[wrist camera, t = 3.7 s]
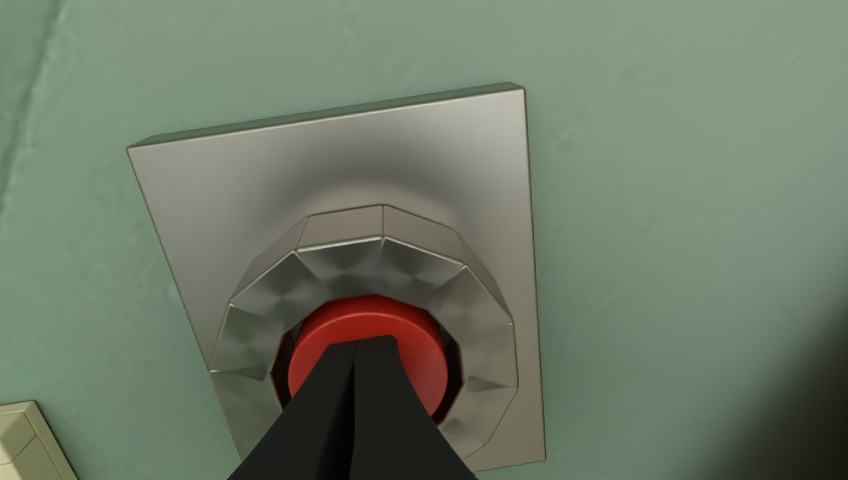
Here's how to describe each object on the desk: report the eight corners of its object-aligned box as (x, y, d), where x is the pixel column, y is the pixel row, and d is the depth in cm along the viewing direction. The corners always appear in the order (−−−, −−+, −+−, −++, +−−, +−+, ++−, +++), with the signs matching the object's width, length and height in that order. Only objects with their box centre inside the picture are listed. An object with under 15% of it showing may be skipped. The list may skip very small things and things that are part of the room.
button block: (535, 429, 15) (569, 520, 12) (267, 473, 15) (241, 574, 12) (511, 80, 11) (555, 96, 8) (149, 136, 11) (69, 170, 8)
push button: (447, 378, 12) (456, 430, 11) (317, 399, 12) (307, 454, 11) (429, 262, 11) (437, 300, 9) (286, 284, 11) (269, 327, 9)
